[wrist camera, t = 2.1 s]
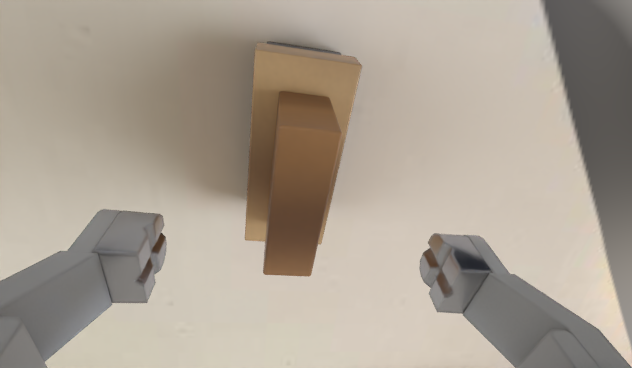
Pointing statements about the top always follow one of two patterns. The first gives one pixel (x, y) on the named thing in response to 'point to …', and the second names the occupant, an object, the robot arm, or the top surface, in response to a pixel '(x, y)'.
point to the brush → (296, 149)
